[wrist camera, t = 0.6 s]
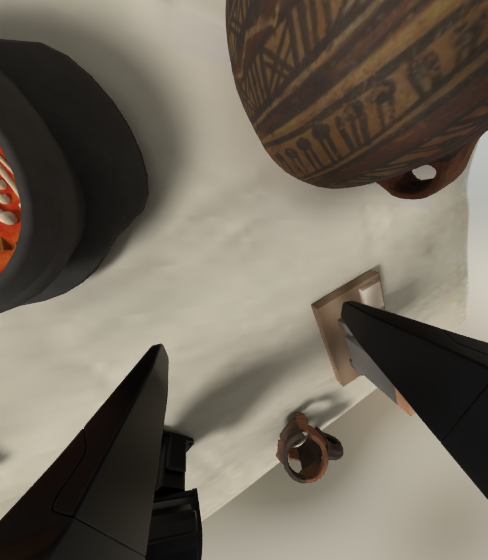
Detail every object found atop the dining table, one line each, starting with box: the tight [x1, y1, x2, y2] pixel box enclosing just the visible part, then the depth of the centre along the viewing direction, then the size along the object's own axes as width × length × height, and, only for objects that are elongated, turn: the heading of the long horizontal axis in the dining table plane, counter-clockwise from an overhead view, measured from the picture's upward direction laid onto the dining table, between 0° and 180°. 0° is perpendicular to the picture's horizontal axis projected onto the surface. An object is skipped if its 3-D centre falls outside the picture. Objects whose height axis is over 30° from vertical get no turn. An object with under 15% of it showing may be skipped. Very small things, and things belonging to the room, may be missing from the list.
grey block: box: [345, 335, 415, 416], centre depth 26 cm, size 4×7×10 cm, turn 25°
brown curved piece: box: [276, 412, 343, 483], centre depth 34 cm, size 12×10×8 cm
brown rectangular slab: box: [311, 270, 385, 387], centre depth 30 cm, size 11×18×4 cm, turn 25°
